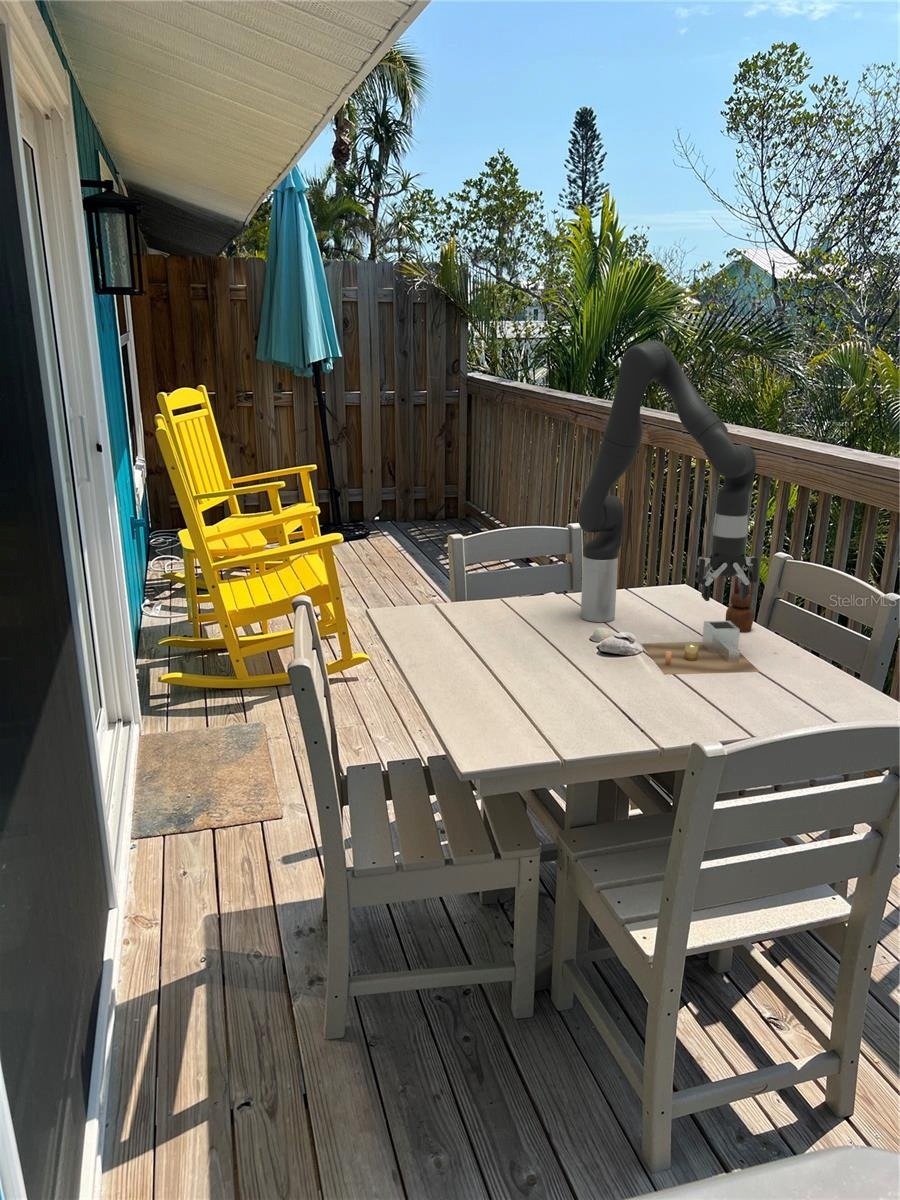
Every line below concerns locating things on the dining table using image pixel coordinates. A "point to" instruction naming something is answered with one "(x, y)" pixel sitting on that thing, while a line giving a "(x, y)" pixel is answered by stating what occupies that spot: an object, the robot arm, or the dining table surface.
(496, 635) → the dining table surface
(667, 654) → the dowel
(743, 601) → the wooden figurine
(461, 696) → the dining table surface
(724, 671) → the board
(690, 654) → the small yellow jar
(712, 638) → the square container with handle
